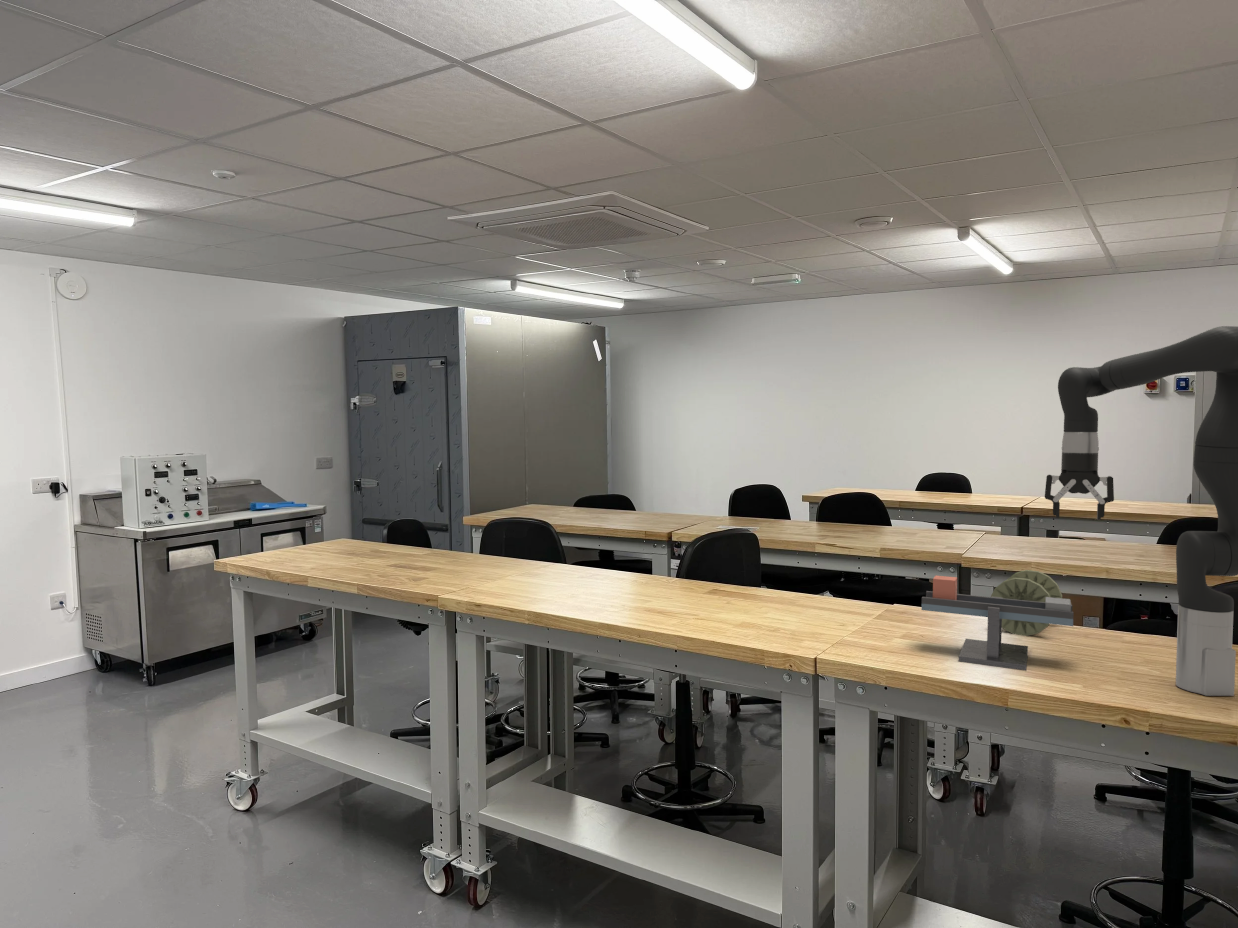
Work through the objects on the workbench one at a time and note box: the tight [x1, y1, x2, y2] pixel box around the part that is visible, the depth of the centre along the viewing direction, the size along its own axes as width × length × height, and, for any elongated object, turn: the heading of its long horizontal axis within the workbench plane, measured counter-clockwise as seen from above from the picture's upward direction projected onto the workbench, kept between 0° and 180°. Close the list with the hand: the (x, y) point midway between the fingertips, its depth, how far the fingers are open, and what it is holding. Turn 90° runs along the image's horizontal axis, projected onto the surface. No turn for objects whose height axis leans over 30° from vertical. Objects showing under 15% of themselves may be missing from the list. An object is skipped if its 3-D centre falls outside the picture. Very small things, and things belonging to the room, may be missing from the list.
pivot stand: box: [958, 597, 1029, 671], centre depth 185 cm, size 14×18×13 cm
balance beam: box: [921, 590, 1074, 627], centre depth 185 cm, size 32×11×5 cm, turn 61°
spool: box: [990, 569, 1063, 637], centre depth 212 cm, size 16×15×15 cm
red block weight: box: [932, 575, 958, 600], centre depth 191 cm, size 5×5×6 cm
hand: (1077, 518), depth 186 cm, fingers open, 8 cm apart
